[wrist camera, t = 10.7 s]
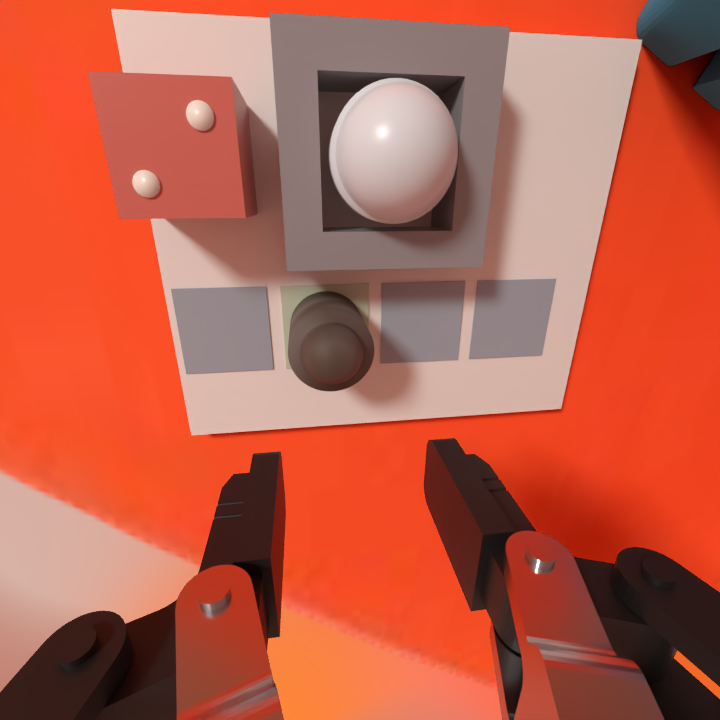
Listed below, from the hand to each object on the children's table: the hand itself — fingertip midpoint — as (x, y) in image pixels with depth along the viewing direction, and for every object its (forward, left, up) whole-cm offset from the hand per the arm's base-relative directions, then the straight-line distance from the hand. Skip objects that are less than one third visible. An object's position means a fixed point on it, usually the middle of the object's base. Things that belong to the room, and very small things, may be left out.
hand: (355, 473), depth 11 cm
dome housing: (-3, -9, -14) cm, 17 cm away
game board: (-4, -4, -15) cm, 16 cm away
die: (+6, -9, -14) cm, 18 cm away
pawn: (0, 0, -14) cm, 14 cm away
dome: (-3, -9, -12) cm, 15 cm away
